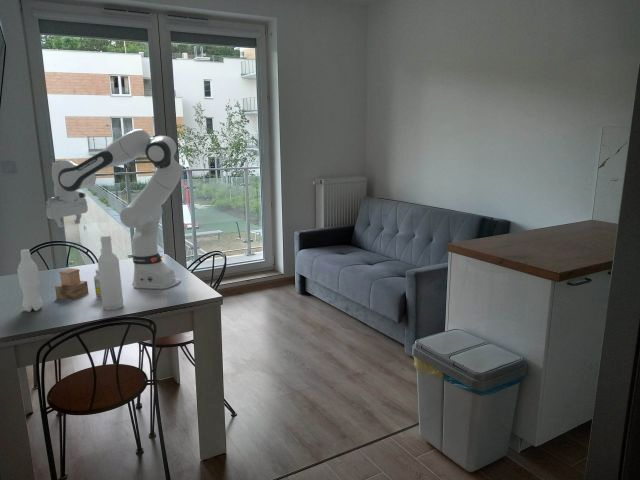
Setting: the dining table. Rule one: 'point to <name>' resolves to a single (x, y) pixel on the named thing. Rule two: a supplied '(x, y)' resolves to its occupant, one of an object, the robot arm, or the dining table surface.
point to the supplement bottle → (97, 285)
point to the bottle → (109, 276)
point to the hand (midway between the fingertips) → (69, 225)
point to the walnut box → (71, 291)
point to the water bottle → (29, 282)
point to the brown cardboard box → (70, 277)
